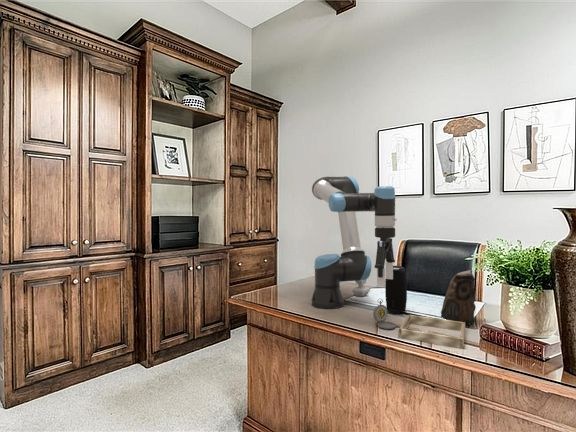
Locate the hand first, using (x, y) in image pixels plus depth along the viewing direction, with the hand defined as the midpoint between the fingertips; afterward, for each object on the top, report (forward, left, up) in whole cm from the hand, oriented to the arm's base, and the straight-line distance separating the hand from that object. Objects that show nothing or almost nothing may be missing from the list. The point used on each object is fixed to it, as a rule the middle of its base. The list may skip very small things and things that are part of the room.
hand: (385, 282), depth 129 cm
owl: (+24, +20, -17) cm, 35 cm away
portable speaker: (0, +20, -17) cm, 26 cm away
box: (+17, -1, -17) cm, 24 cm away
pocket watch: (0, 0, -17) cm, 17 cm away
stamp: (-22, +40, -17) cm, 49 cm away
